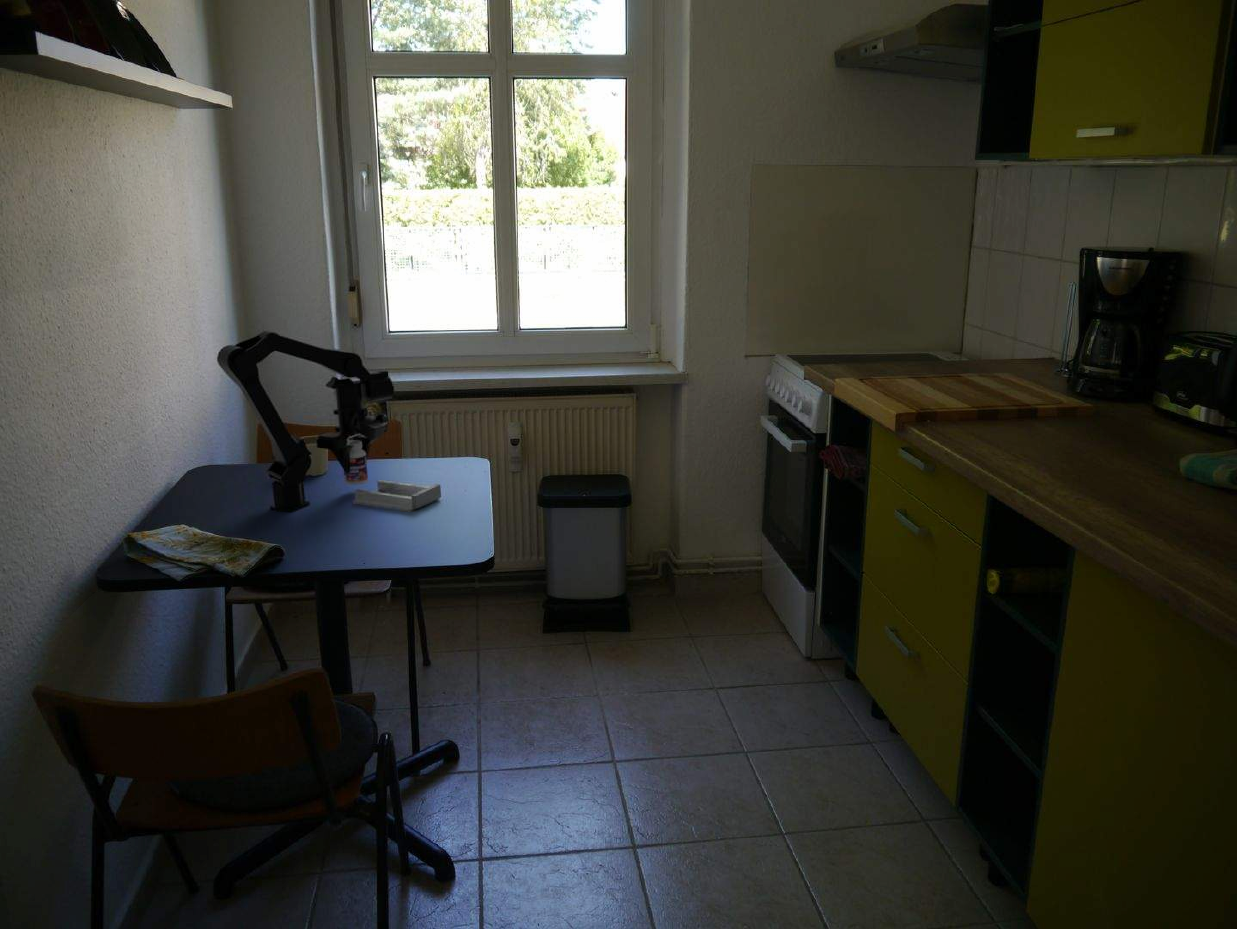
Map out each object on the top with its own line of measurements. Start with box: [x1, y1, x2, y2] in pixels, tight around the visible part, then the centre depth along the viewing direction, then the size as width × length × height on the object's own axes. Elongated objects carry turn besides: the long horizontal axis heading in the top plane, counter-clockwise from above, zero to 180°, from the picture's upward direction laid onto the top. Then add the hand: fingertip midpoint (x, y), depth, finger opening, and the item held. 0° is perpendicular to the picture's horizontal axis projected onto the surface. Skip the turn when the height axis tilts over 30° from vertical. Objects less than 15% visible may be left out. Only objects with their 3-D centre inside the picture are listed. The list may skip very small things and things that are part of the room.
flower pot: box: [300, 435, 329, 477], centre depth 260 cm, size 9×9×9 cm
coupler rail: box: [352, 479, 442, 513], centre depth 237 cm, size 11×17×4 cm, turn 64°
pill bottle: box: [343, 439, 369, 486], centre depth 243 cm, size 5×5×10 cm
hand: (355, 469), depth 244 cm, fingers closed on pill bottle, 5 cm apart
